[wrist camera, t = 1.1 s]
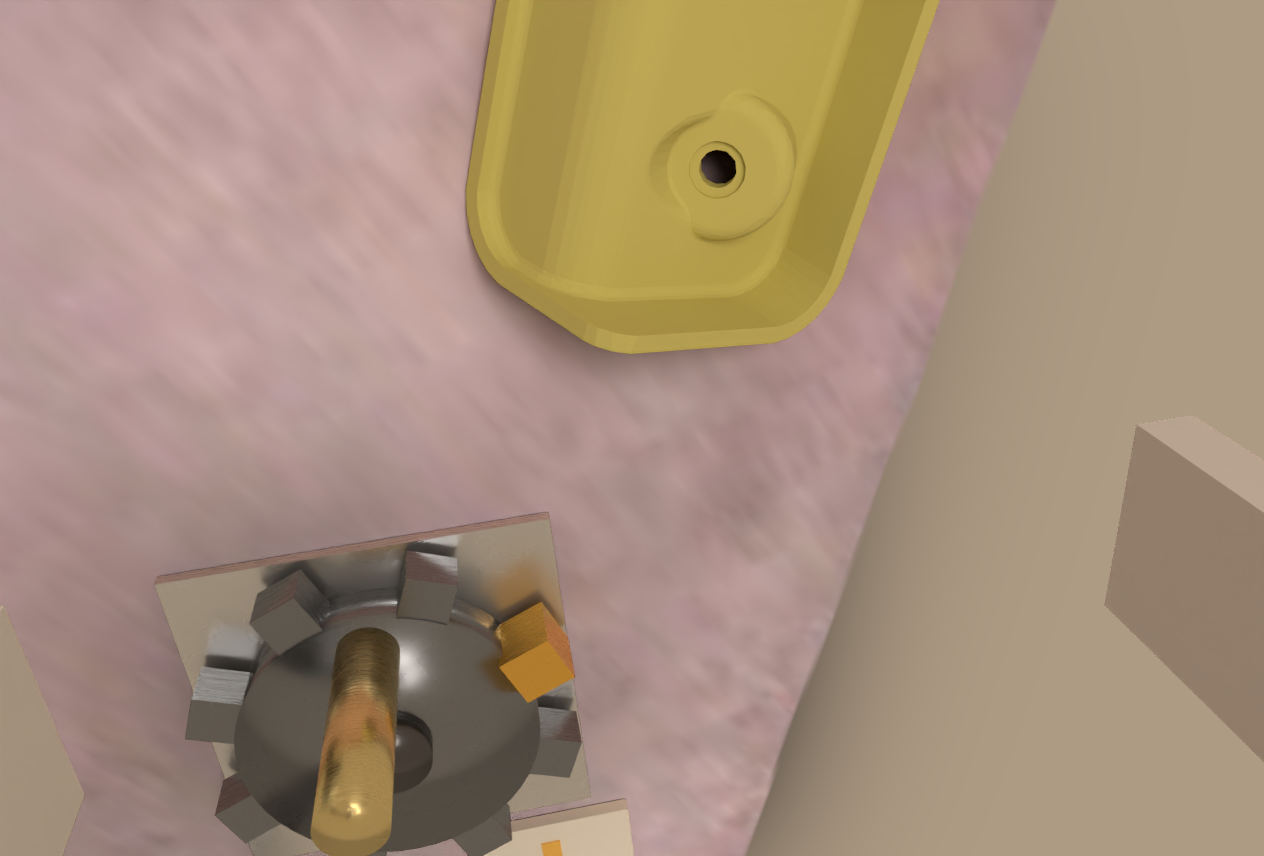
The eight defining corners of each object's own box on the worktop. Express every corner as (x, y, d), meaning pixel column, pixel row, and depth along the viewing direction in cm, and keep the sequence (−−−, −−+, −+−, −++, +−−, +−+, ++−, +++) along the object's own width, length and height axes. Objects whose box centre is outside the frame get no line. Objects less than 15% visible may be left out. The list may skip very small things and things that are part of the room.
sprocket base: (257, 853, 43) (255, 863, 42) (157, 576, 37) (154, 584, 36) (589, 788, 44) (591, 797, 44) (548, 511, 38) (549, 518, 38)
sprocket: (256, 867, 42) (207, 1118, 33) (155, 591, 36) (62, 808, 27) (591, 801, 44) (631, 1023, 35) (551, 524, 37) (586, 710, 29)
